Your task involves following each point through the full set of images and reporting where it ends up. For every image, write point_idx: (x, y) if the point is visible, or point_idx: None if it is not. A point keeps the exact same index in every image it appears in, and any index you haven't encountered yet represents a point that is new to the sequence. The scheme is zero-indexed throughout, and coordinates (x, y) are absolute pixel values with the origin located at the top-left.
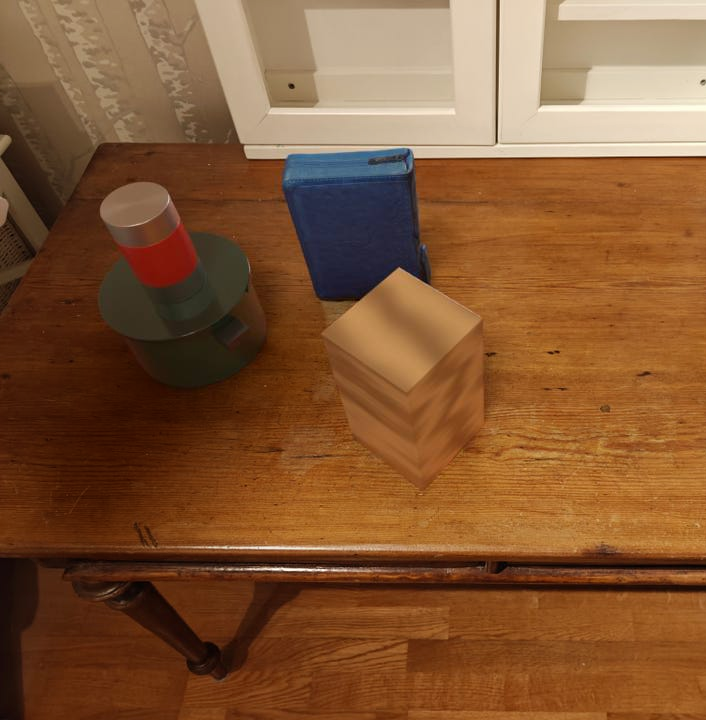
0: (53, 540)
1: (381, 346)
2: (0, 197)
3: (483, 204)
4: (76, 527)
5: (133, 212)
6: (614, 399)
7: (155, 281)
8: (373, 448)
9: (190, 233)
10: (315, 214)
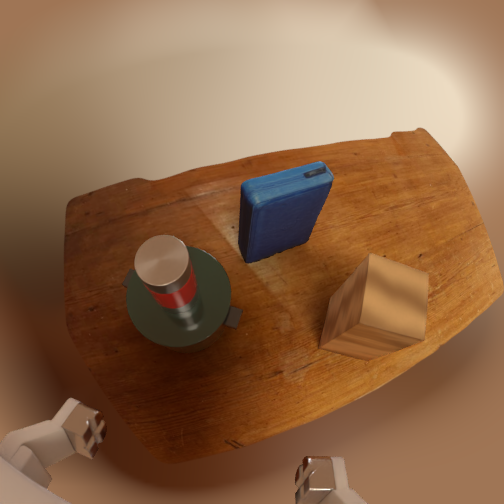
0: (185, 460)
1: (397, 316)
2: (344, 463)
3: None
4: (193, 451)
5: (165, 268)
6: None
7: (179, 305)
8: (337, 351)
9: None
10: (269, 219)
